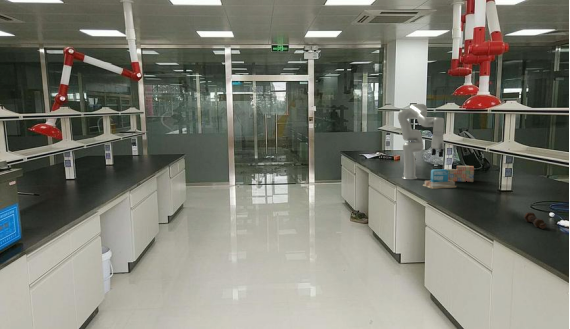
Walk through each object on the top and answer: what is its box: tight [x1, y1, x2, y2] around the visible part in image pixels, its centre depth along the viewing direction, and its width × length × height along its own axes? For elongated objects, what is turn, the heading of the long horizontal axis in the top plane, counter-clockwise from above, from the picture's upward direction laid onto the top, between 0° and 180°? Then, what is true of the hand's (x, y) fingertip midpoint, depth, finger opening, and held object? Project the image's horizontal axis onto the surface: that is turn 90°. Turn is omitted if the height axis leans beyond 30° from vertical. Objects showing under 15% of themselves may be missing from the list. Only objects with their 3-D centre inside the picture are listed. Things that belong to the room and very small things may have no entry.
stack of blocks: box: [444, 165, 475, 183], centre depth 337 cm, size 21×6×12 cm, turn 73°
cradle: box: [422, 179, 457, 190], centre depth 316 cm, size 14×20×4 cm
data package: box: [430, 168, 448, 183], centre depth 315 cm, size 12×4×12 cm, turn 92°
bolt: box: [523, 212, 547, 230], centre depth 209 cm, size 6×5×15 cm
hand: (437, 156), depth 316 cm, fingers open, 9 cm apart
